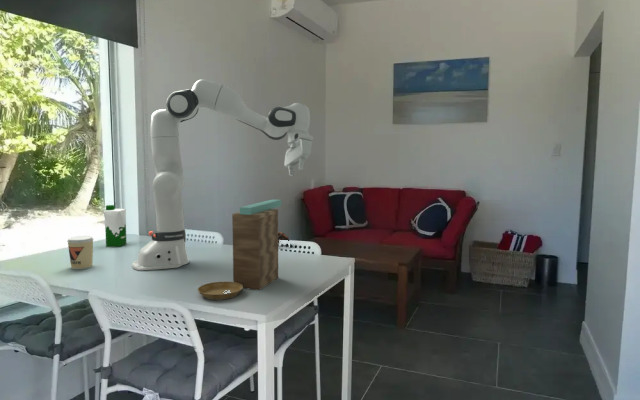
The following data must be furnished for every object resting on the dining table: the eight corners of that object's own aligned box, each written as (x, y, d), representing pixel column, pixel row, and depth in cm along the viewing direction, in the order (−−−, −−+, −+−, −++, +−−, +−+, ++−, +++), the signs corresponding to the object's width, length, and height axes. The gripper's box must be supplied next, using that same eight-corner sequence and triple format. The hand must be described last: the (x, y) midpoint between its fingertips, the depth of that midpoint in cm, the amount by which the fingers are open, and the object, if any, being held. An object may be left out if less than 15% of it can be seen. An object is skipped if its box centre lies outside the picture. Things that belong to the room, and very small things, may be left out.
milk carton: (111, 243, 237) (109, 204, 235) (129, 243, 237) (127, 204, 235) (103, 247, 228) (101, 206, 226) (121, 247, 228) (119, 206, 226)
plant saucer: (188, 298, 152) (188, 290, 152) (215, 286, 166) (215, 279, 165) (226, 304, 146) (225, 296, 146) (251, 291, 160) (251, 284, 160)
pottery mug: (291, 249, 227) (282, 236, 224) (274, 257, 229) (265, 243, 226) (294, 239, 238) (286, 225, 236) (278, 246, 240) (270, 233, 238)
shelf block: (254, 275, 179) (253, 208, 176) (278, 277, 176) (277, 209, 173) (233, 286, 164) (232, 213, 161) (259, 289, 161) (258, 215, 158)
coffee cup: (63, 268, 188) (61, 239, 187) (82, 263, 197) (81, 235, 196) (81, 270, 185) (79, 240, 184) (99, 265, 194) (98, 236, 192)
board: (272, 205, 185) (272, 199, 185) (281, 205, 184) (281, 199, 183) (239, 214, 160) (239, 207, 160) (250, 214, 159) (250, 207, 159)
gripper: (282, 146, 204) (279, 177, 201) (300, 131, 186) (298, 165, 183) (295, 149, 206) (293, 179, 203) (315, 135, 188) (313, 168, 185)
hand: (295, 172), depth 193 cm, fingers open, 8 cm apart
